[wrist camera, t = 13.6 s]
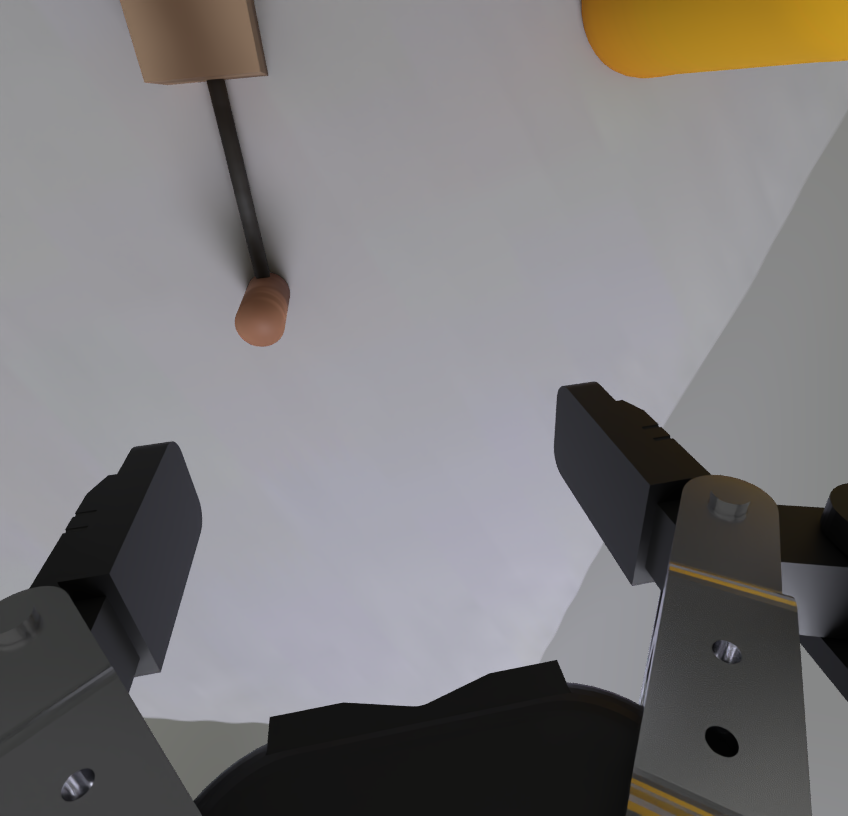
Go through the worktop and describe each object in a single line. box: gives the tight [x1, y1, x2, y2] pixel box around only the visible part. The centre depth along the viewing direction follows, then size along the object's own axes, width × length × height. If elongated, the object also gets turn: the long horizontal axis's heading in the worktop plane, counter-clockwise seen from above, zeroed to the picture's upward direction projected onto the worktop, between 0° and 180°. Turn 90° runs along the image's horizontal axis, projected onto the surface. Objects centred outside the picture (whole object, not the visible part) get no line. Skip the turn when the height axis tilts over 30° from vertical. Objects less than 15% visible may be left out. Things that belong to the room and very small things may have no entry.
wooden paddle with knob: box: [120, 0, 290, 347], centre depth 31 cm, size 6×23×7 cm, turn 5°
